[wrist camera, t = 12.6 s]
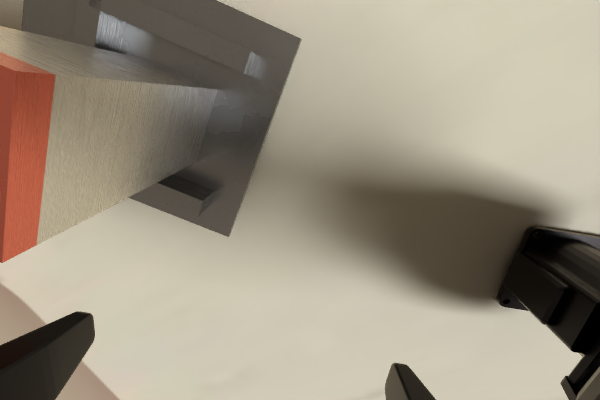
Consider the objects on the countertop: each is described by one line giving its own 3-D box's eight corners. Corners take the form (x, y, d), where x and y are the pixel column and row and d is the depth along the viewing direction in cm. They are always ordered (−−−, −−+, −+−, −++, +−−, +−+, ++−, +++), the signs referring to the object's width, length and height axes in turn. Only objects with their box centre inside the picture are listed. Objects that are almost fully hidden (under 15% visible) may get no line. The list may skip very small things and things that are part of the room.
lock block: (217, 89, 18) (14, 71, 6) (196, 162, 20) (1, 262, 8) (144, 57, 18) (-226, -29, 6) (128, 134, 20) (-186, 194, 7)
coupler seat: (301, 40, 18) (298, 30, 15) (229, 234, 22) (219, 251, 20) (36, -80, 16) (-13, -112, 14) (18, 151, 21) (-22, 158, 18)
